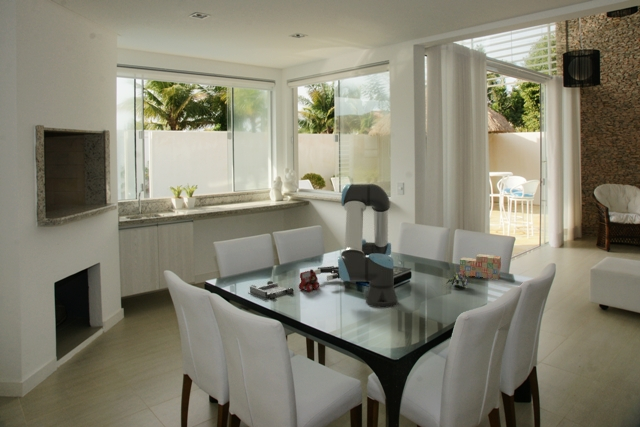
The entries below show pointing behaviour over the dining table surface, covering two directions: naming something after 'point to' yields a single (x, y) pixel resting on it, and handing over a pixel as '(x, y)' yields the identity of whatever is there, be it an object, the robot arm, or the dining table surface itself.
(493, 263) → the stack of blocks
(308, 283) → the red plastic toy vehicle
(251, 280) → the dining table surface
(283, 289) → the chassis bay
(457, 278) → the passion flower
